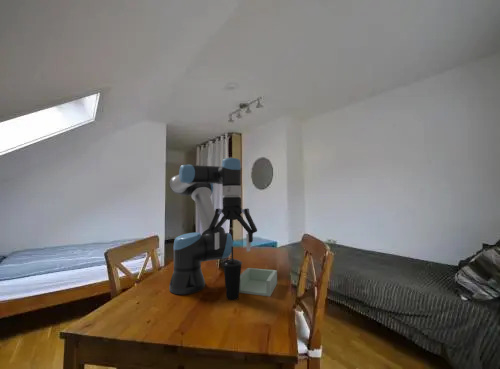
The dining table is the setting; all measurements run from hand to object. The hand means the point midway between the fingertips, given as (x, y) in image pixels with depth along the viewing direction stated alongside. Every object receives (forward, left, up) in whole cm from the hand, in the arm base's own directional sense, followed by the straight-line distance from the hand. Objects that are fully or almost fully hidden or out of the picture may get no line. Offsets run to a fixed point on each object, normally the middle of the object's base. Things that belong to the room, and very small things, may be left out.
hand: (232, 249), depth 93 cm
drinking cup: (0, 0, -19) cm, 19 cm away
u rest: (+7, +12, -19) cm, 23 cm away
